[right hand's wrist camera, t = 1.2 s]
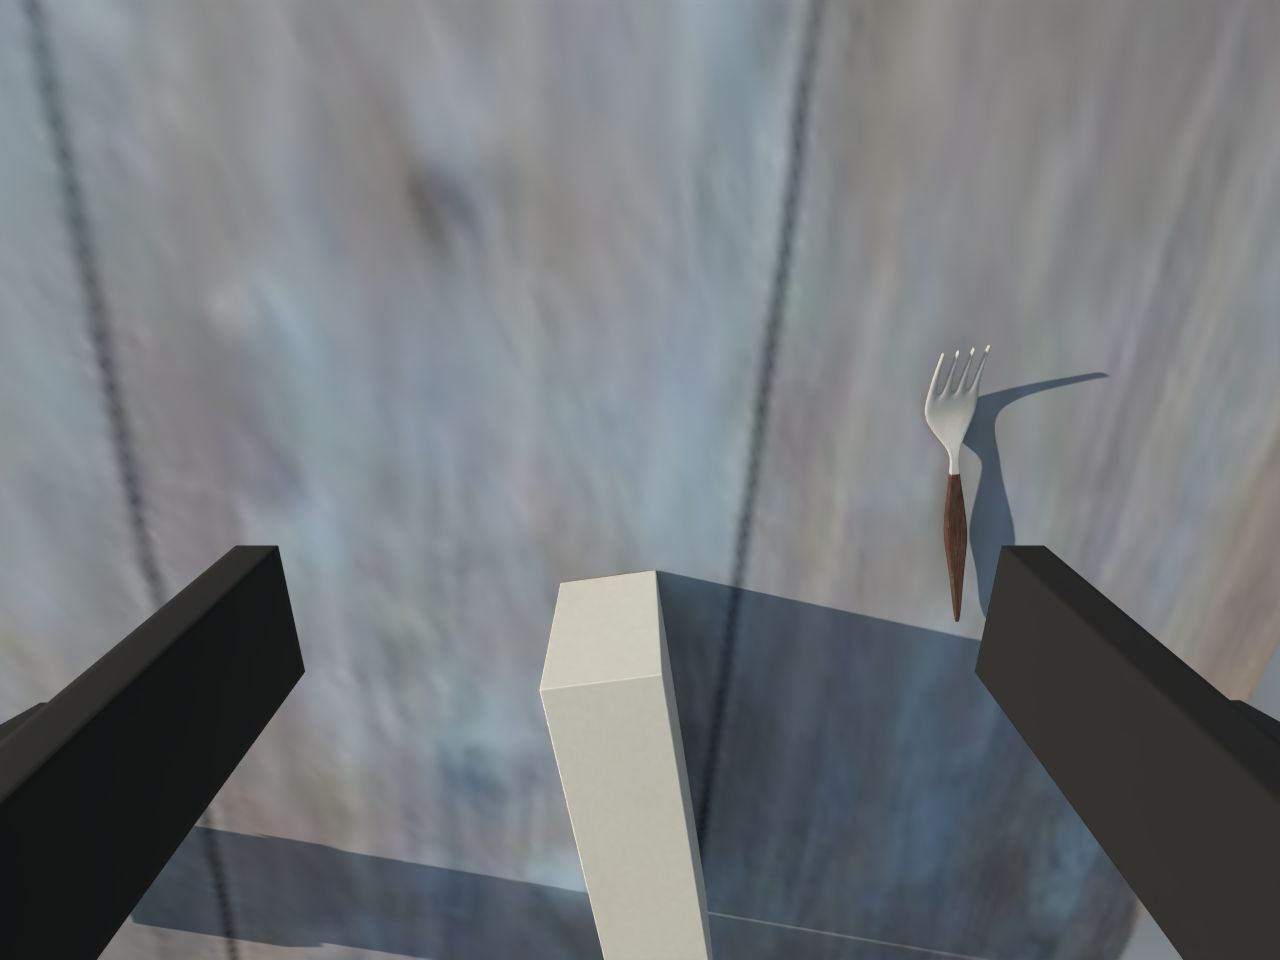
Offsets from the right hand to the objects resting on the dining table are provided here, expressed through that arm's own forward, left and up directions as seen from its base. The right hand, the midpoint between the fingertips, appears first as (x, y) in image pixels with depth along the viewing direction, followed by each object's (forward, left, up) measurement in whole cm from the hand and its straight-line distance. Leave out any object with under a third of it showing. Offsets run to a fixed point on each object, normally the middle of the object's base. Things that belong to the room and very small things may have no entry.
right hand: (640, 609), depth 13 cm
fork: (-13, +13, -23) cm, 29 cm away
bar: (+10, +23, -23) cm, 34 cm away
